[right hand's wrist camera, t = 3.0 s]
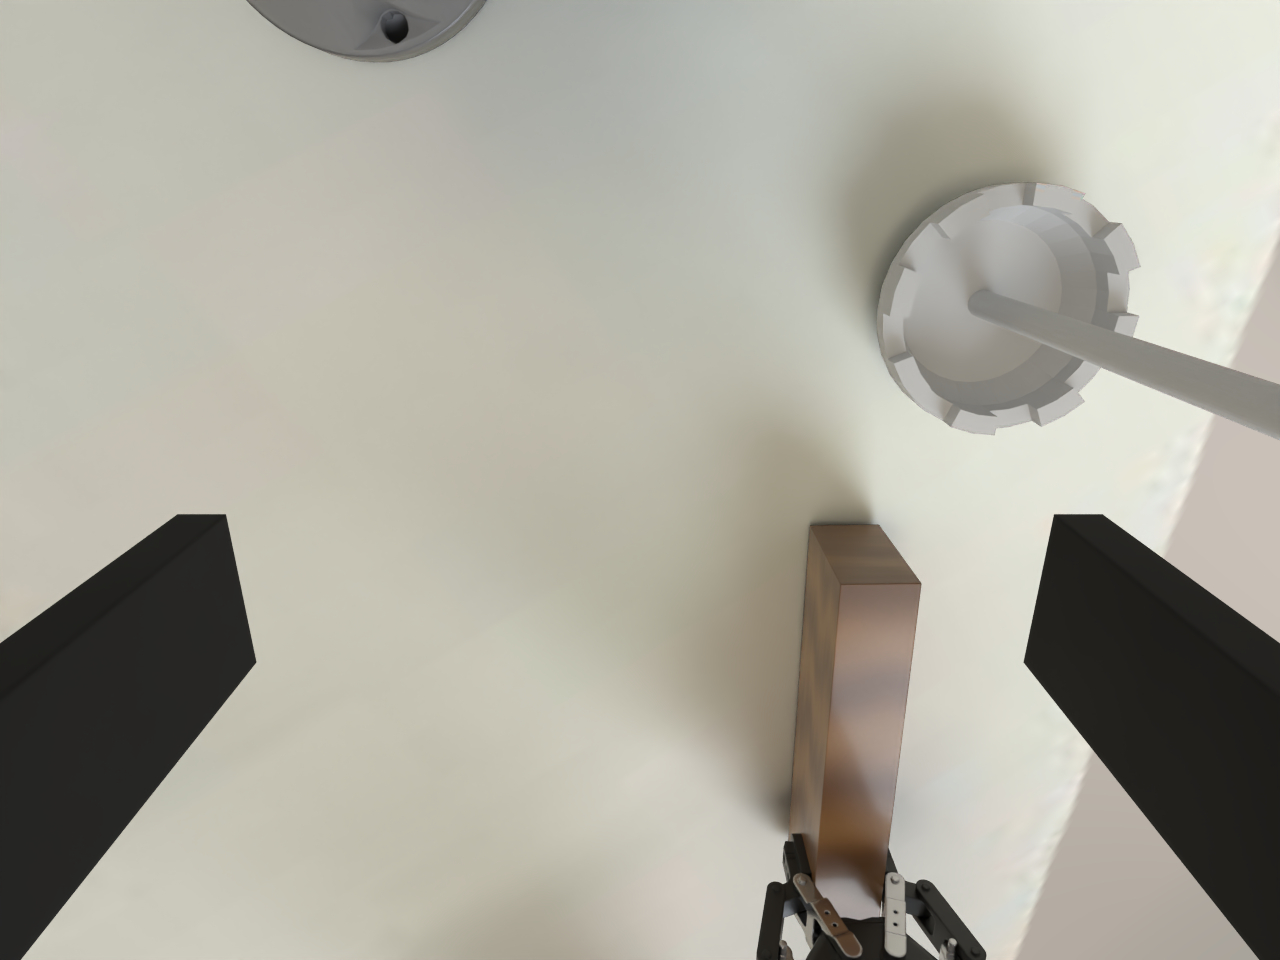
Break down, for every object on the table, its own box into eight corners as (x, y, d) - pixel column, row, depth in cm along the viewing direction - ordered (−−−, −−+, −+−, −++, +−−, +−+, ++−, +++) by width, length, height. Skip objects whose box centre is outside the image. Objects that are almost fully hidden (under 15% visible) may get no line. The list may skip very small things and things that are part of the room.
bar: (809, 525, 51) (840, 584, 43) (878, 524, 51) (922, 583, 43) (787, 850, 60) (809, 946, 53) (845, 849, 60) (876, 945, 53)
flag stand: (817, 332, 47) (1083, 562, 19) (965, 133, 43) (1582, 45, 15) (981, 447, 49) (1430, 801, 21) (1135, 269, 45) (1934, 414, 17)
